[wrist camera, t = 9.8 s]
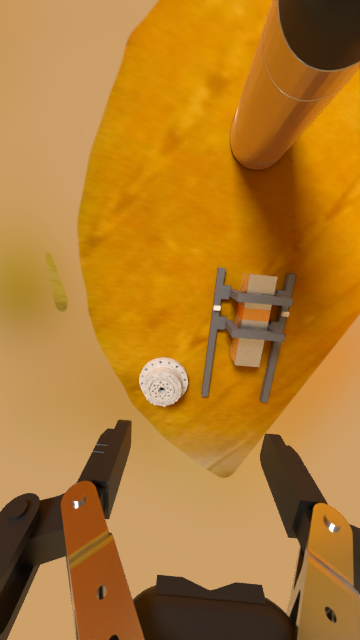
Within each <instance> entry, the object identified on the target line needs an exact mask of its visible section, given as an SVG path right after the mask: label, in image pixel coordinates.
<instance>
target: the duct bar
mask: <svg viewBox="0 0 360 640" xmlns="http://www.w3.org/2000/svg"><path fill="white" fill-rule="evenodd" d="M277 278H278V277H276V276H268V275H256V274H245V273H243V276H242V282H241V288H240V292H242V293H244V294H255V295H266V296H274V292H275V287H276V283H277ZM271 307H272V305H269V304H258V303H246V302H238V306H237V313H236V319H235V325H236V326H237V328H238V329H248V330H259V331H267V326H268V321H269V317H270V312H271ZM264 341H265V340H256V339H245V338H234V337H232V344H231V350H230V356H231V359H232V361H233V363H234V365H239V366H250V367H259V365H260V360H261V356H262V351H263V346H264Z"/></svg>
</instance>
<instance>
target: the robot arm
mask: <svg viewBox="0 0 360 640" xmlns="http://www.w3.org/2000/svg"><path fill="white" fill-rule="evenodd" d="M359 68H360V0H272V3H271V6H270V9H269V12H268V15H267V19H266V22H265V25H264V28H263V31H262V34H261V37H260V40H259V43H258V46H257V50H256V53H255V56H254V59H253V62H252V65H251V68H250V71H249V74H248V77H247V80H246V83H245V86H244V89H243V93H242V96H241V99H240V102H239V105H238V108H237V111H236V114H235V117H234V120H233V123H232V127H231V131H230V145H231V149H232V152H233V154H234V156H235V158H236V159H237V161H238V162H239V163H240V164H242V165H243V166H244V167H246V168H248V169H253V170H262V169H265V168H268V167H270V166H272V165H273V164H275V163H276V162H277V161H278V160H279V159H280V158H281V157H282V156H283V155H284V154H285V152H286V151H287V150H288V149H289V148H290V147H291V146H292V145H293V144H294V142H295V141H296V140H297V139H298V138H299V137H300V136H301V134H302V133H303V132H304V131H305V130H306V129H307V128H308V127H309V125H310V124H311V123H312V122H313V121H314V120H315V119H316V117H317V116H318V115H319V114H320V113H321V112H322V111H323V109H324V108H325V107H326V106H327V105H328V104H329V103H330V101H331V100H332V99H333V98H334V97H335V96H336V95H337V94H338V92H339V91H340V90H341V89H342V88H343V87H344V86H345V84H346V83H347V82H348V81H349V80H350V79H351V77H352V76H353V75H354V74H355V73H356V72H357V71H358V69H359ZM130 446H131V421H128V420H118V422H117V424H116V426H115V429H107V430H106V431H105V432H104V433H103V434H102V435H101V436H100V438H99V440H98V442H97V444H96V446H95V448H94V450H93V452H92V454H91V456H90V458H89V460H88V462H87V464H86V466H85V468H84V470H83V472H82V474H81V476H80V478H79V479H78V481H77V483H76V484H74V485H72V486H71V487H70V488H69V489H68V490H67V491H66V492H65V493H64V494H62V495H60V496H56V497H53V498H49V499H45V500H41V501H40V500H39V497H38V496H37V495H36V494H33V493H27V494H23V495H20V496H18V497H17V498H15V499H13V500H12V501H10V502H9V503H8V504H7V505H6V506H5V507H4V508H3V509H2V511H1V512H0V640H7V638H8V636H9V633H10V631H11V629H12V626H13V624H14V622H15V620H16V617H17V615H18V613H19V611H20V608H21V606H22V604H23V602H24V600H25V597H26V595H27V593H28V591H29V588H30V586H31V584H32V581H33V579H34V577H35V575H36V572H37V570H38V568H39V566H40V564H43V563H46V562H49V561H52V560H55V559H58V558H61V557H64V556H66V562H67V570H68V579H69V586H70V594H71V602H72V610H73V619H74V628H75V635H76V640H360V597H359V594H360V528H357V527H355V526H352V525H350V524H349V523H348V522H347V520H346V519H345V518H344V516H343V515H342V514H341V513H340V512H338V511H337V510H336V509H335V508H333V507H331V506H329V505H328V504H327V502H326V500H325V499H324V497H323V495H322V493H321V492H320V490H319V488H318V487H317V485H316V483H315V482H314V480H313V478H312V477H311V475H310V473H308V470H307V468H306V466H305V465H304V463H303V462H302V460H301V458H300V456H299V455H298V453H297V452H295V450H294V449H293V448H292V447H290V446H286V445H285V443H284V441H283V439H282V438H281V436H280V435H276V434H265V436H264V441H263V445H262V449H261V454H260V461H261V466H262V468H263V471H264V474H265V476H266V479H267V482H268V485H269V487H270V490H271V492H272V495H273V498H274V501H275V503H276V506H277V509H278V511H279V514H280V517H281V519H282V522H283V525H284V527H285V530H286V533H287V535H288V537H289V538H297V539H298V541H299V543H300V548H299V552H298V558H297V563H296V569H295V575H294V580H293V586H292V591H291V596H290V601H289V605H288V608H287V612H286V613H285V612H284V611H283V610H282V609H281V608H280V607H278V606H277V605H276V604H275V603H273V602H272V601H270V600H269V599H267V598H265V596H264V593H263V588H262V585H256V584H246V583H233V584H230V585H227V586H224V587H221V588H218V589H215V590H207V589H205V588H203V587H201V586H199V585H197V584H195V583H193V582H191V581H189V580H187V579H185V578H183V577H174V576H164V575H157V583H156V586H153V587H150V588H148V589H146V590H144V591H143V592H141V593H140V594H139V595H138V596H136V597H135V598H134V599H132V596H131V593H130V590H129V586H128V583H127V580H126V576H125V573H124V570H123V566H122V563H121V560H120V557H119V553H118V550H117V547H116V544H115V540H114V537H113V535H112V533H109V530H108V527H107V524H106V520H105V519H109V517H110V514H111V510H112V507H113V504H114V501H115V497H116V494H117V491H118V488H119V484H120V481H121V478H122V474H123V471H124V468H125V465H126V461H127V458H128V455H129V451H130Z"/></svg>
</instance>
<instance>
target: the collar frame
mask: <svg viewBox="0 0 360 640" xmlns="http://www.w3.org/2000/svg"><path fill="white" fill-rule="evenodd" d="M224 275H225V268H218V270H217V278H216V285H215V293H214V301H213V308H212V316H211V324H210V332H209V339H208V347H207V355H206V363H205V370H204V378H203V386H202V397H208V391H209V383H210V376H211V369H212V362H213V355H214V347H215V340H216V333H217V329H221V330H224V329H225V328H226V329H227V331H228V333H229V334H230V336H231V337H234V338H245V339H256V340H267V341H272V345H271V349H270V354H269V359H268V363H267V368H266V373H265V377H264V382H263V387H262V391H261V396H260V400H261V402H268V397H269V393H270V388H271V384H272V380H273V375H274V371H275V366H276V362H277V358H278V353H279V349H280V345H281V342H284V339H285V334H283V331H284V327H285V323H286V318H287V317H289V312H288V309H289V306H291V307H292V304H293V300H294V299H293V298H291V296H292V292H293V288H294V283H295V279H296V274H287V275H286V280H285V285H284V289H283V290H275V293H274V296H266V295H255V294H244V293H242V292H240V291H238V290H236V289H231V286H228V285H223V283H224ZM229 296H230V297H231V298H233V299H234V300H235V301H237V302H246V303H258V304H269V305H280V308H279V312H278V317H277V321H272V320H269V323H268V326H267V331H259V330H248V329H238V328H237V326H236V325H235V324H234V323H233V322H232V320H227V319H226V317H225V316H219V311H220V309H221V306H220V304H221V299H229Z"/></svg>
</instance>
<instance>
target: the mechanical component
mask: <svg viewBox="0 0 360 640" xmlns="http://www.w3.org/2000/svg"><path fill="white" fill-rule="evenodd" d="M139 384H140V387H141V389H142V392H143V393H144V395H145V397H146V398H147V399H146V400H149V401H150V403H153V404H154V405H155V406H156V405H159V406H163V407H165V406H167V405H170V404H174V402H177V401H178V399H179V398H180V397H182V396H183V394H184V393H185V391H186V390H187V386H188V377H187V373H186V370H185V368H184V367H183V366H182V365H181V364H180V363H179V362H177V361H176V360H174V359H171V358H166V357H162V358H156V359H153V360H151V361H149V362H148V363H147V364H146V365H145V366H144V367H143V369H142V372H141V374H140V378H139Z"/></svg>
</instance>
